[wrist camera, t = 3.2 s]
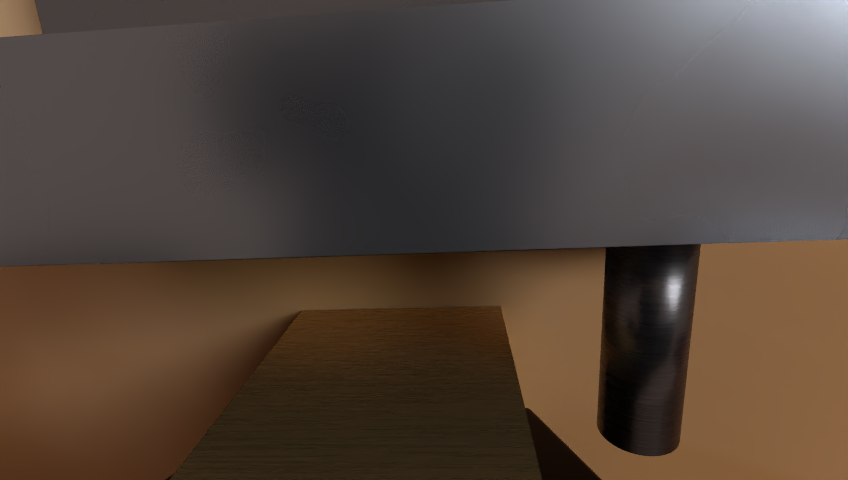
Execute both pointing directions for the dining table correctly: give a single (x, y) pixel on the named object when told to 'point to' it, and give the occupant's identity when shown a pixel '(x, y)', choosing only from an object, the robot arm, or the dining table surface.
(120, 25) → the vise base
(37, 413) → the dining table surface
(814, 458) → the dining table surface
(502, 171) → the jaw
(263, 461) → the block
